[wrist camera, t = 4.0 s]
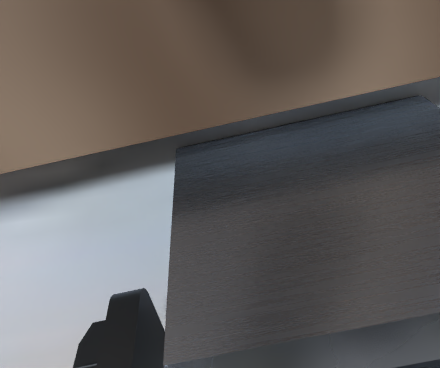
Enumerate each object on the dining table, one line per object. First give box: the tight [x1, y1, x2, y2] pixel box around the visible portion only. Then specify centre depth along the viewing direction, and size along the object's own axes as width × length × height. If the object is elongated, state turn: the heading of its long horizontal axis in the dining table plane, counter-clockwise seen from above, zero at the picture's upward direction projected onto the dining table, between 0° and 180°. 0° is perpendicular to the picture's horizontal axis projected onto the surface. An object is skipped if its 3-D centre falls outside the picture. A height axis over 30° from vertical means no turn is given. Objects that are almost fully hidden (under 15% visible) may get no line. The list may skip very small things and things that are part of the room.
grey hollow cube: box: [163, 96, 440, 368], centre depth 9 cm, size 6×6×6 cm
